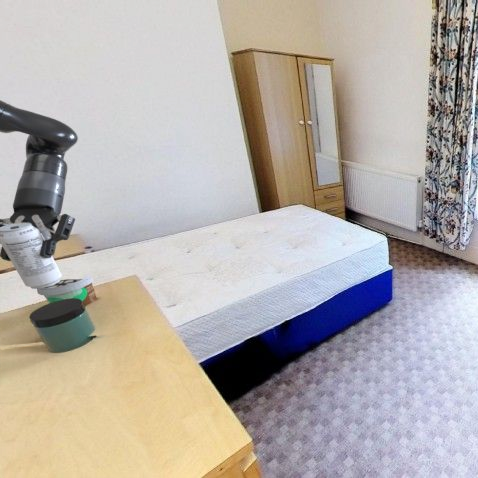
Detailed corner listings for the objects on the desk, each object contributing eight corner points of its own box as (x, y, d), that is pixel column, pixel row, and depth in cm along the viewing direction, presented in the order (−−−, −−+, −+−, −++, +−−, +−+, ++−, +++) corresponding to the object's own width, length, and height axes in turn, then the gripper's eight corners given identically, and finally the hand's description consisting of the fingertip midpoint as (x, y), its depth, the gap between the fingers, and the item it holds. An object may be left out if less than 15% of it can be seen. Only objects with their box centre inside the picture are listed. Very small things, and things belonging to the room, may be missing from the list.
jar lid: (21, 328, 76) (17, 321, 76) (54, 305, 85) (51, 299, 84) (65, 325, 78) (62, 318, 77) (94, 303, 86) (91, 297, 85)
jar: (37, 355, 80) (18, 324, 76) (66, 330, 88) (50, 301, 84) (81, 350, 81) (65, 320, 78) (105, 326, 90) (92, 298, 86)
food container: (38, 321, 91) (20, 292, 87) (54, 308, 96) (38, 280, 92) (91, 314, 94) (77, 286, 90) (104, 302, 99) (91, 275, 95)
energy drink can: (63, 274, 81) (35, 219, 75) (63, 283, 78) (34, 227, 71) (27, 282, 78) (-5, 225, 71) (26, 293, 74) (-9, 234, 67)
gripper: (-14, 188, 73) (-33, 257, 68) (66, 185, 77) (54, 250, 72) (16, 202, 80) (1, 266, 75) (88, 199, 84) (78, 259, 79)
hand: (27, 258), depth 73 cm, fingers closed on energy drink can, 6 cm apart
